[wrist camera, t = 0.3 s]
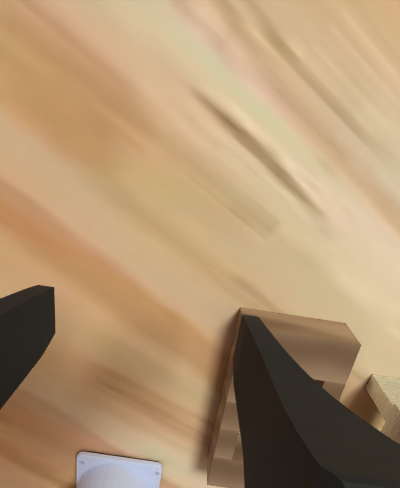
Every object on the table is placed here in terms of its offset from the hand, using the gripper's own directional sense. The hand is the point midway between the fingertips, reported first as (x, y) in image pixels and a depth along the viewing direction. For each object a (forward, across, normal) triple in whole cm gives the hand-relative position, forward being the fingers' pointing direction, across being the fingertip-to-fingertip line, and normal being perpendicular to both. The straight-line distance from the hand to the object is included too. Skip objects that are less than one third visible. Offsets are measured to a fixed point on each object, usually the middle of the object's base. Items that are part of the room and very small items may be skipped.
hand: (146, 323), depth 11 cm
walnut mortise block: (+10, -9, +13) cm, 19 cm away
